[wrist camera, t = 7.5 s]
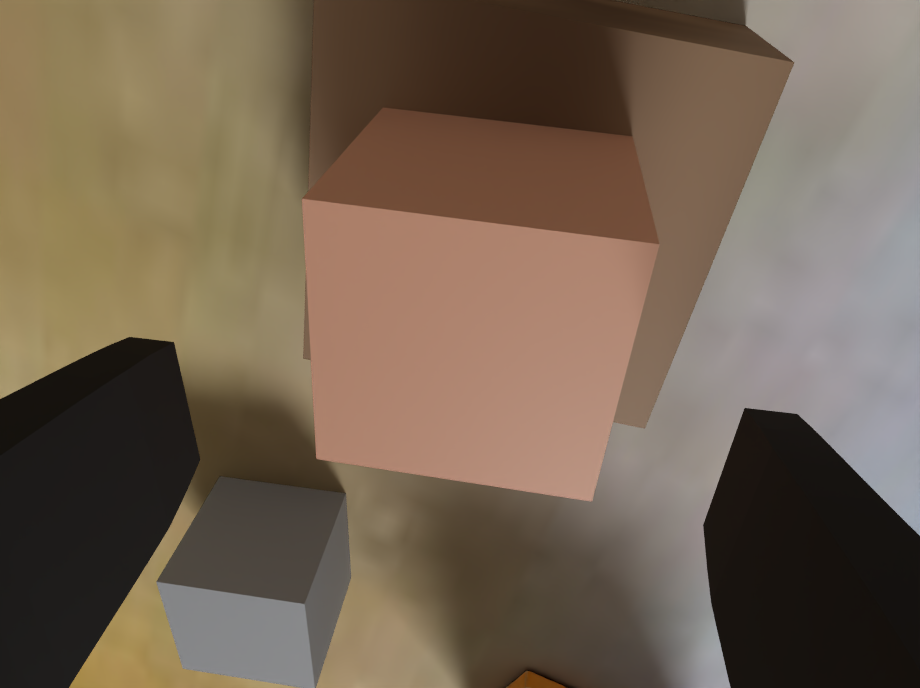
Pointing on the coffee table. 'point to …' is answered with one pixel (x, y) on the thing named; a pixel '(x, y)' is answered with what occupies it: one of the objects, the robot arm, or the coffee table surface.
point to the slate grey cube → (259, 582)
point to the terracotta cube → (475, 298)
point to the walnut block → (571, 113)
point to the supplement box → (533, 682)
